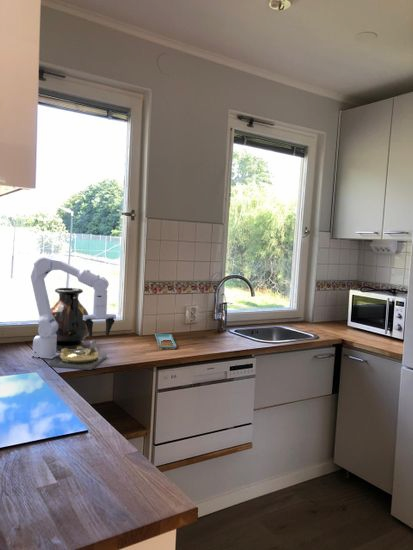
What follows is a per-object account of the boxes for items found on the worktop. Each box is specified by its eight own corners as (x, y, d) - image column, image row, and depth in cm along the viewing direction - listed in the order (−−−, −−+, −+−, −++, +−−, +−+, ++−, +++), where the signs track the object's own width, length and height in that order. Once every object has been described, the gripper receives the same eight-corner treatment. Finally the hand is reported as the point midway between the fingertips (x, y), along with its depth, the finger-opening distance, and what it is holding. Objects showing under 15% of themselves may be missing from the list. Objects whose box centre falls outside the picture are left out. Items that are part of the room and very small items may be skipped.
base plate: (48, 366, 183) (48, 362, 183) (68, 354, 203) (68, 350, 203) (91, 369, 181) (91, 365, 181) (106, 357, 201) (106, 353, 201)
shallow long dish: (176, 350, 223) (177, 345, 223) (158, 350, 222) (158, 345, 221) (171, 338, 249) (171, 334, 249) (154, 338, 247) (154, 333, 247)
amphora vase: (97, 349, 215) (99, 291, 213) (53, 354, 201) (55, 292, 199) (78, 339, 231) (80, 286, 229) (36, 343, 218) (38, 287, 216)
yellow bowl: (93, 363, 184) (94, 346, 184) (54, 361, 184) (54, 344, 183) (101, 353, 200) (102, 337, 200) (66, 351, 200) (66, 335, 199)
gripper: (112, 303, 204) (111, 332, 205) (81, 304, 196) (80, 334, 197) (118, 305, 198) (116, 335, 199) (86, 306, 190) (84, 338, 191)
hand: (98, 335), depth 198 cm, fingers open, 7 cm apart
